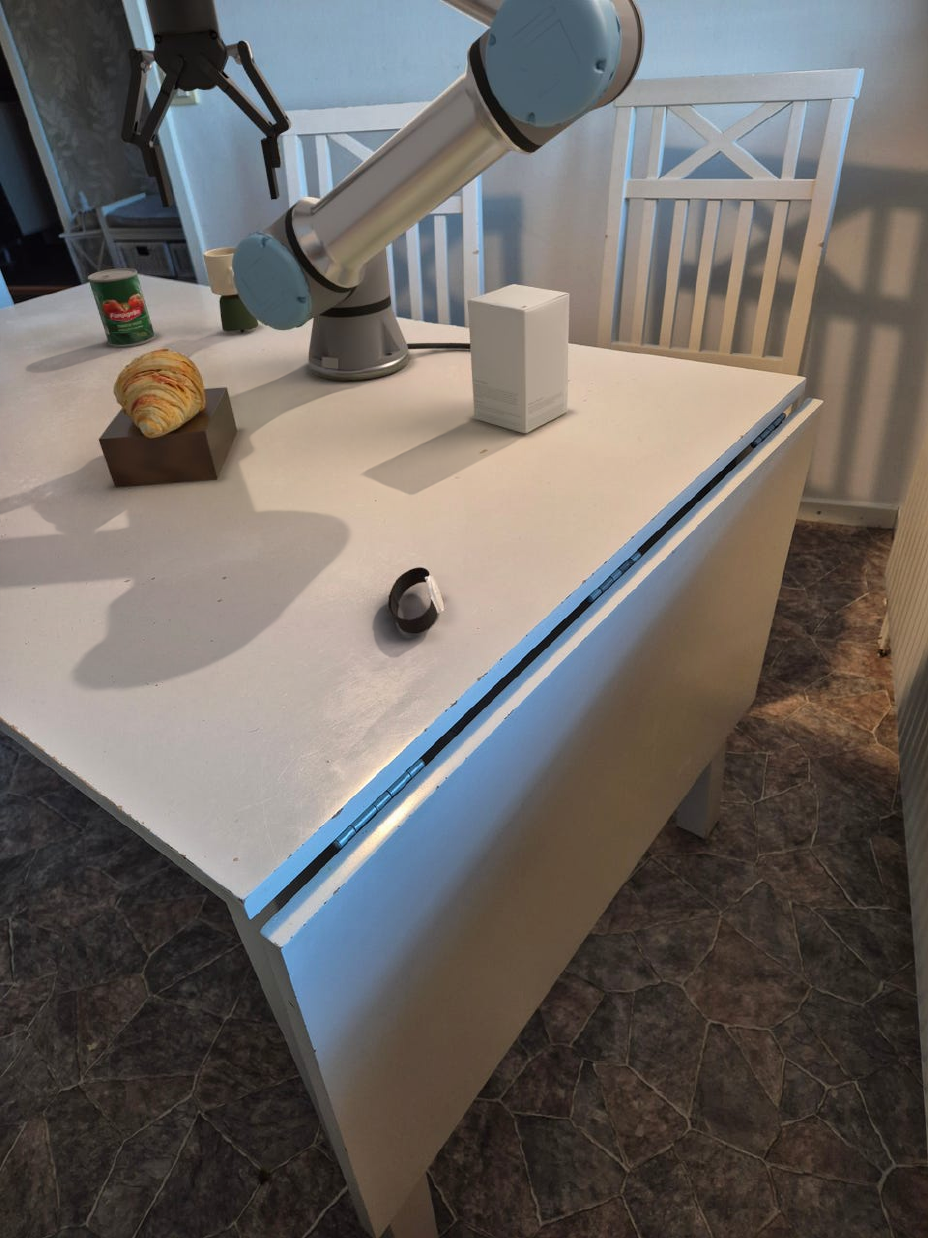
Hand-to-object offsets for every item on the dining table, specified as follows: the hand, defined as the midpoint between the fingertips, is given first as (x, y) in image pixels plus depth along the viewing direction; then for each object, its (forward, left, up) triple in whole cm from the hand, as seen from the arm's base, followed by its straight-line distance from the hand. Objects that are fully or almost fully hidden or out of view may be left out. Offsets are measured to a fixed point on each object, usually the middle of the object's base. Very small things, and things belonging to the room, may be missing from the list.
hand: (222, 201), depth 103 cm
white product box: (-36, +17, -25) cm, 47 cm away
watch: (-22, +59, -25) cm, 68 cm away
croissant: (+7, +22, -19) cm, 30 cm away
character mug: (+8, -31, -25) cm, 41 cm away
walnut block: (+7, +22, -25) cm, 34 cm away
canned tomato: (+27, -30, -25) cm, 47 cm away
